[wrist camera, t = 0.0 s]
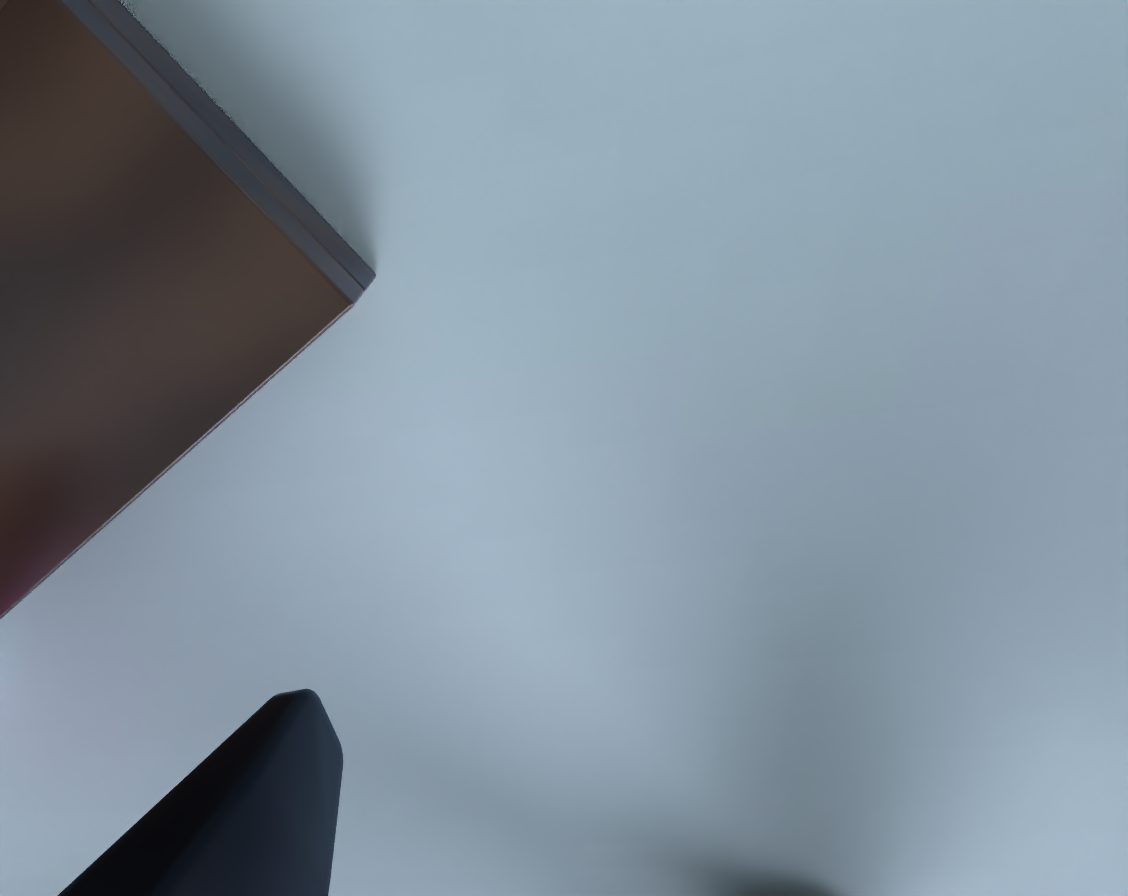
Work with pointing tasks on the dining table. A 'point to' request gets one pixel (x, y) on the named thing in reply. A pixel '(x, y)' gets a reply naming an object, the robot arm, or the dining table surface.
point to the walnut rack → (131, 274)
